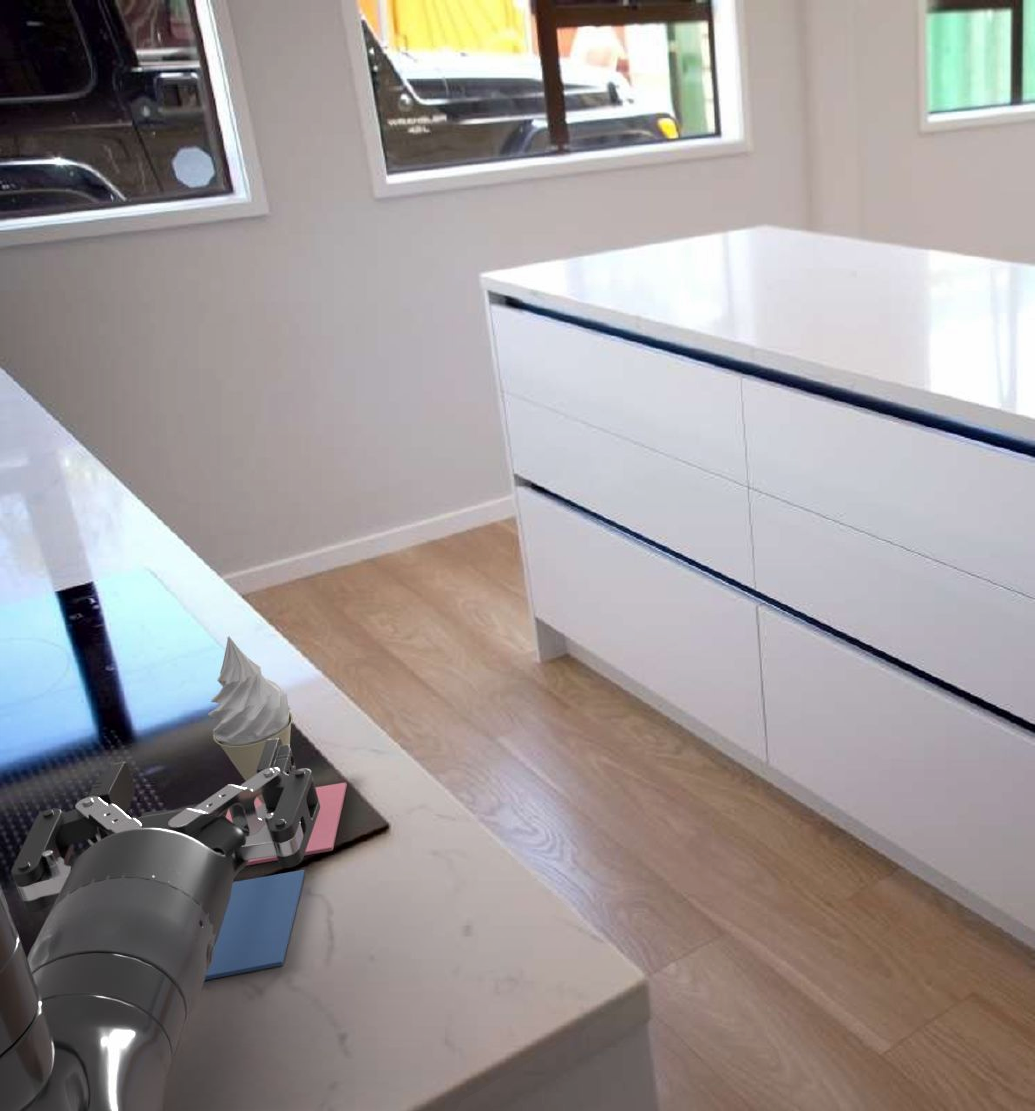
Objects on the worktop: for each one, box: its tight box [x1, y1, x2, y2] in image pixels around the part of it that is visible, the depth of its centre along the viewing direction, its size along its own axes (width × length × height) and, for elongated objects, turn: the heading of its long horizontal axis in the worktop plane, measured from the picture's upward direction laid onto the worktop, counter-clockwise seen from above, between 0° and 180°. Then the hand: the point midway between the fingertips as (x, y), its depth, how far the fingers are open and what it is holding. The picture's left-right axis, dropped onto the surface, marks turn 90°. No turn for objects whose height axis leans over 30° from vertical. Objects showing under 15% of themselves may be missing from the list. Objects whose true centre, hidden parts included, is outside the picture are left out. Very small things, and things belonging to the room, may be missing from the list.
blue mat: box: [204, 869, 306, 981], centre depth 79 cm, size 10×9×1 cm
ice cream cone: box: [207, 635, 294, 804], centre depth 85 cm, size 5×5×15 cm
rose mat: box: [225, 781, 348, 867], centre depth 89 cm, size 8×8×1 cm
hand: (201, 763), depth 75 cm, fingers open, 8 cm apart
